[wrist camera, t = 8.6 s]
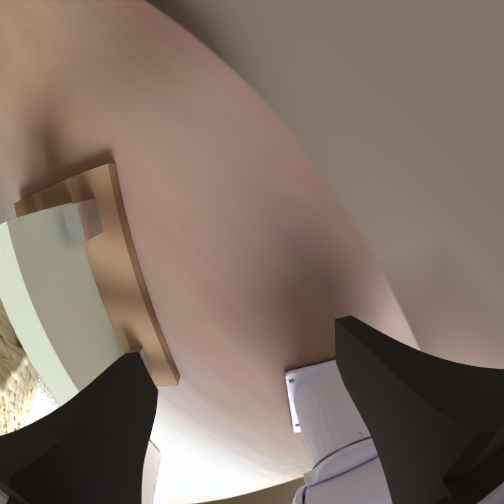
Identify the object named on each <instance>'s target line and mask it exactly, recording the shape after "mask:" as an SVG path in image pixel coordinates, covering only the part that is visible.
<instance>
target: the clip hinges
mask: <svg viewBox="0 0 504 504" xmlns="http://www.w3.org/2000/svg"><path fill="white" fill-rule="evenodd" d="M63 213H64V217H65V221H66V225H67V229H68V233H69V237H70V241H71V244H72V245H74V244H78V243H82V242H85V241H88V240H89V239H91V238H93V237H95V236H97V235H99V234H101V233H103V229H102V225H101V221H100V217H99V213H98V209H97V204H96V200H95V198H94V199H90V200H86V201H82V202H78V203H75V204H72V205H69V206H66V207H64V208H63ZM134 352H139V353H140V355H141V358H142V360H143V362H144V364H145V366H146V368H147V370H148V372H149V374H150V376H151V375H152V373H153V370H154V369H153V367H152V365H151V363H150V360H149V358H148V356H147V354H146V352H145V349H144V347H143V346H141V347H130V349H129V351H128V353H134Z"/></svg>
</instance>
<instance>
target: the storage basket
mask: <svg viewBox="0 0 504 504" xmlns="http://www.w3.org/2000/svg"><path fill="white" fill-rule="evenodd" d="M37 379H38V373H37V371H36V369H35V368H34V366H33V364H32V363H31V361H30V359H29V357H28V356H27V354H26V352H25V350H24V348H23V346H22V344H21V342H20V341H19V339H18V337H17V335H16V332H15V330H14V328H13V326H12V324H11V322H10V320H9V317H8V315H7V313H6V310H5V308H4V306H3V303H2V301H1V298H0V436H1V435H4V434H7V433H10V432H13V431H16V430H18V429H20V425H22V424H23V423H24V420H25V419H26V416H27V415H28V413H29V411H30V408H31V405H32V401H33V399H34V396H35V391H36V386H37Z"/></svg>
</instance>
